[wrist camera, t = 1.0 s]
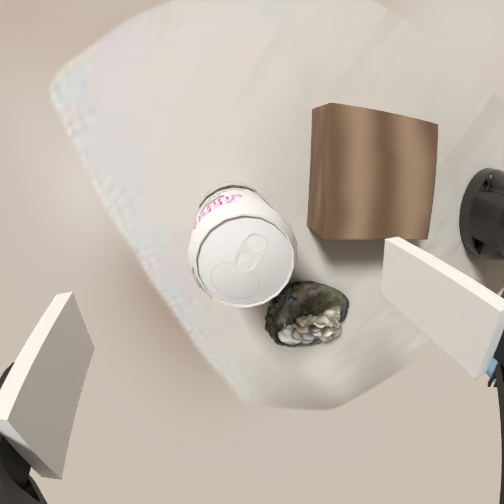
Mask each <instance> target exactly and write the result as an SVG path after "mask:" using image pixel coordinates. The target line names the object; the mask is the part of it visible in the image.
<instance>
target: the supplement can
mask: <svg viewBox="0 0 504 504" xmlns="http://www.w3.org/2000/svg"><path fill="white" fill-rule="evenodd" d="M187 253H188V261H189V269H190V272H191V274H192V275H193V277H194V279H195V281H196V283H197V285H198V286H199V287H200V288H201V289H202V290H203V291H205V292H206V293H207V294H208V295H209V296H210V297H211V298H214V299H215V300H216V301H218V302H221V303H223V304H226V305H228V306H231V307H242V308H249V307H253V306H257V305H261V304H264V303H266V302H268V301H269V300H271V299H272V298H274V297H275V296H277V295H278V294H279V293H280V292H281V291H282V289H283V288H284V287H285V286H286V285H287V283H288V282H289V279H290V277H291V275H292V272H293V269H294V267H295V264H296V261H297V242H296V239H295V237H294V234H293V232H292V229H291V226H290V225H289V224H288V223H287V222H286V221H285V219H284V218H283V217H282V216H281V215H280V214H279V213H278V212H277V211H276V210H275V209H274V208H273V207H272V206H271V205H270V204H269V203H268V202H267V201H266V200H265V199H264V198H263V197H262V196H261V195H260V194H259V193H258V192H257V191H256V190H255V189H253V188H251V187H249V186H247V185H245V184H240V183H231V182H230V183H226V184H222V185H218V186H216V187H215V188H213V189H212V190H210V191H209V192H208V193H207V194H206V195H205V196H204V198H203V199H202V200H201V202H200V203H199V207H198V210H197V214H196V218H195V222H194V226H193V230H192V234H191V239H190V243H189V247H188V251H187Z"/></svg>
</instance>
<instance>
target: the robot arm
mask: <svg viewBox="0 0 504 504" xmlns="http://www.w3.org/2000/svg"><path fill="white" fill-rule="evenodd" d="M460 231H461V236H462V240H463V243H464V245H465V247H466V248H467V249H468V250H469V251H470V252H471V253H472V254H474V255H476V256H478V257H480V258H483V259H490V260H504V172H503V171H501V170H496V169H491V168H486V169H483V170H481V171H479V172H478V173H477V174H476V175H475V176H474V177H473V178H472V180H471V181H470V183H469V185H468V187H467V189H466V191H465V194H464V197H463V200H462V205H461V211H460ZM380 294H381V295H382V296H383V297H384V298H385V299H386V300H388V301H389V302H390V303H391V304H392V305H393V306H395V307H396V308H397V309H398V310H399V311H400V312H401V313H402V314H404V315H405V316H406V317H407V318H408V319H409V320H410V321H412V322H413V323H414V324H415V325H416V326H417V327H418V328H419V329H420V330H422V331H423V332H424V333H425V334H426V335H427V336H428V337H429V338H430V339H431V340H433V341H434V342H435V343H436V344H437V345H438V346H439V347H440V348H441V349H442V350H443V351H444V352H445V353H447V354H448V355H449V356H450V357H451V358H452V359H453V360H454V361H456V363H457V364H458V365H459V366H460V367H461V368H463V370H465V371H466V372H467V373H468V374H469V375H470V376H471V377H472V378H473V379H474V380H475V379H476V378H478V377H479V376H481V375H482V374H484V373H485V372H486V373H487V374H488V376H489V377H490V379H489V381H488V387H490V386H491V384H492V382H493V381H494V382H495V384H494V387H497V389H498V398H499V406H500V419H501V438H502V475H501V492H500V504H504V291H503V293H502V295H501V297H500V296H499V295H497V294H496V293H494V292H492V291H491V290H489V289H488V288H486V287H485V286H483V285H481V284H480V283H478V282H477V281H475V280H473V279H472V278H470V277H468V276H467V275H465V274H463V273H462V272H460V271H458V270H457V269H455V268H453V267H452V266H450V265H448V264H447V263H445V262H443V261H441V260H440V259H438V258H436V257H434V256H433V255H431V254H429V253H427V252H426V251H424V250H422V249H420V248H418V247H417V246H415V245H413V244H411V243H409V242H407V241H406V240H404V239H402V238H400V237H393V238H388V239H385V246H384V260H383V272H382V282H381V291H380ZM93 351H94V346H93V343H92V341H91V339H90V336H89V334H88V332H87V329H86V326H85V324H84V321H83V319H82V317H81V313H80V311H79V308H78V306H77V303H76V300H75V297H74V294H73V292H68V293H62V294H57V295H56V297H55V298H54V299H53V301H52V302H51V304H50V305H49V307H48V309H47V310H46V311H45V313H44V314H43V316H42V318H41V319H40V321H39V323H38V324H37V326H36V327H35V329H34V330H33V332H32V334H31V335H30V337H29V339H28V340H27V342H26V344H25V345H24V347H23V349H22V351H21V353H20V354H19V356H18V357H17V359H16V361H15V362H13V363H12V364H11V365H10V366H9V367H8V368H7V369H6V370H5V371H4V373H3V375H2V376H1V378H0V504H47V502H46V500H45V498H44V497H43V495H42V494H41V492H40V490H39V488H38V486H37V484H36V483H35V481H34V480H33V478H32V477H31V476H30V475H29V472H30V468H31V467H32V468H33V469H34V470H35V471H36V472H37V473H38V474H39V475H40V476H41V477H47V478H53V479H62V474H63V469H64V463H65V458H66V452H67V448H68V443H69V439H70V434H71V430H72V426H73V422H74V417H75V413H76V409H77V406H78V402H79V398H80V394H81V391H82V387H83V384H84V380H85V377H86V374H87V370H88V367H89V364H90V360H91V357H92V354H93Z"/></svg>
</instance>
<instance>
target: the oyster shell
mask: <svg viewBox="0 0 504 504" xmlns="http://www.w3.org/2000/svg"><path fill="white" fill-rule="evenodd" d="M348 307H349V301H348V299H347V297H346V296H345V295H344V294H343V293H341V292H340V291H338V290H336V289H334V288H332V287H329V286H327V285H323V284H320V283H316V282H313V281H298V282H295V283H291V284H287V285H286V286H285V287H284V288H283V289H282V291H281V292H280V293H279V294H278V295H277V296H275V297H274V298H272V299H271V302H270V303H269V305H268V312H267V315H266V317H265V320H266V326H265V330H267V331H268V332H269V335H270V336H271V338H273V339H274V341H275V343H277V344H278V345H286V346H288V347H296V346H308V345H310V346H311V345H314V344H319V343H321V341H324V342H329V341H331V340H332V339H333V337H337V336H338V335H339V334H340V332H341V326H340V323H341V322H342V321H344V319H345V318H346V314H347V309H348Z"/></svg>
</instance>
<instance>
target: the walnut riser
mask: <svg viewBox="0 0 504 504" xmlns="http://www.w3.org/2000/svg"><path fill="white" fill-rule="evenodd" d="M437 143H438V124H434V123H431V122H427V121H423V120H419V119H415V118H411V117H407V116H402V115H398V114H393V113H388V112H383V111H378V110H373V109H368V108H362V107H356V106H350V105H343V104H336V103H329V104H326V105H323V106H320V107H317V108H315V109H312V137H311V163H310V184H309V202H308V218H307V226H308V227H309V228H311V229H312V230H313V231H314V232H315V233H316V234H318V235H319V236H320V237H321V238H322V239H323V240H338V239H388V238H393V237H400V238H402V239H428V233H429V226H430V219H431V212H432V204H433V196H434V186H435V175H436V162H437Z"/></svg>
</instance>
